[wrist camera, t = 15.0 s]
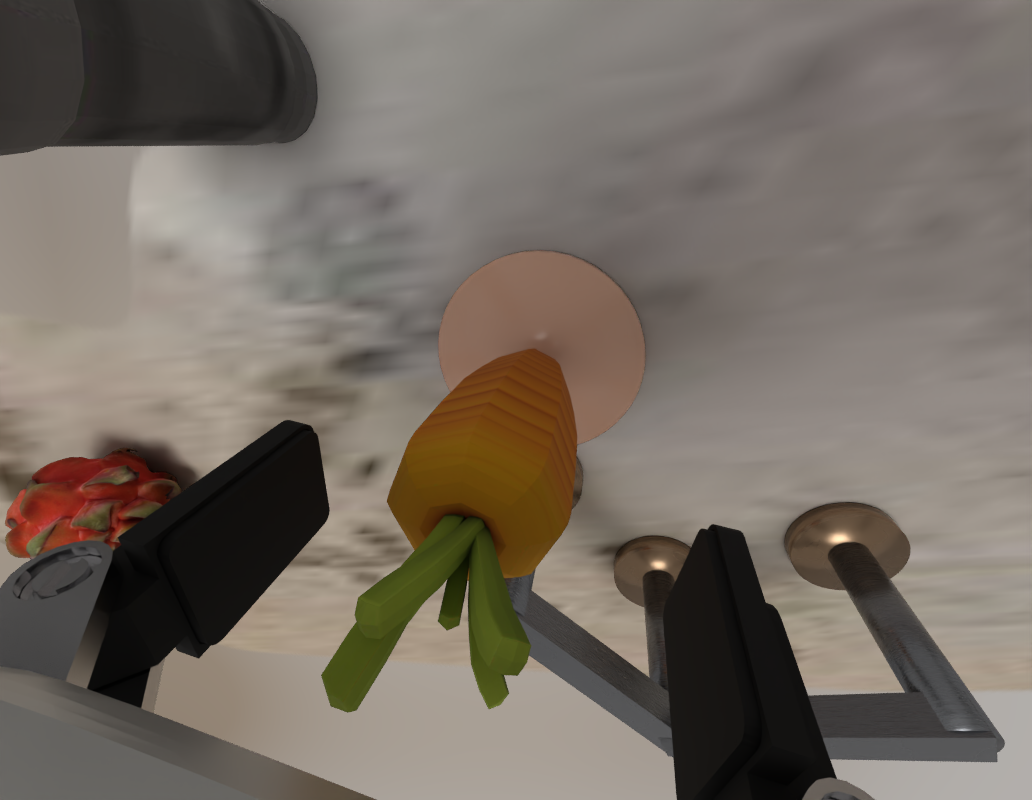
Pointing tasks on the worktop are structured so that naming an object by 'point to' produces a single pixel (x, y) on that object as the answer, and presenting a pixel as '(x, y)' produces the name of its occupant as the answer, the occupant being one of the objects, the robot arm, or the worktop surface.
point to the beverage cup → (150, 74)
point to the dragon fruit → (85, 502)
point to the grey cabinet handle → (841, 718)
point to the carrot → (471, 521)
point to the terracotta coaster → (550, 330)
